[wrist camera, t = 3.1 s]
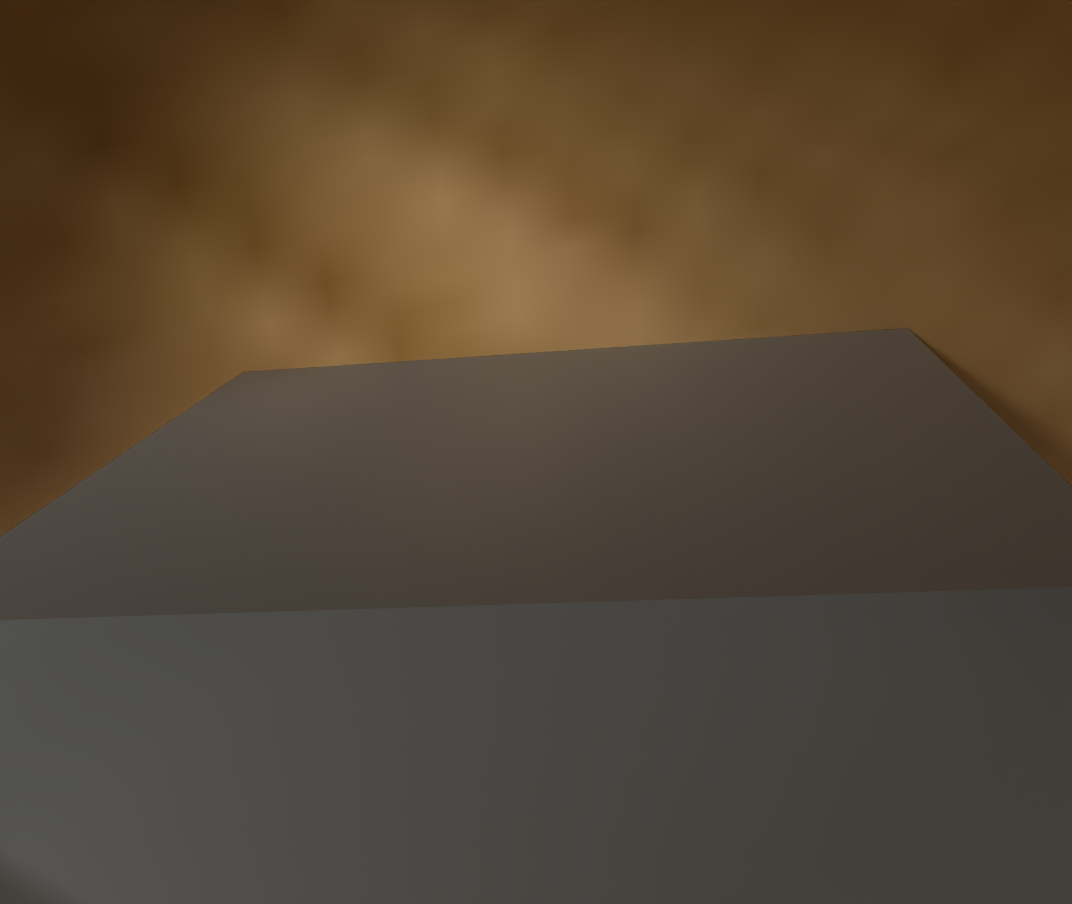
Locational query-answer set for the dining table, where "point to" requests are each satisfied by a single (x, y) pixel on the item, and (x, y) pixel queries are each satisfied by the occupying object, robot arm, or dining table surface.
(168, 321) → the dining table surface
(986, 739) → the grey rectangular block
